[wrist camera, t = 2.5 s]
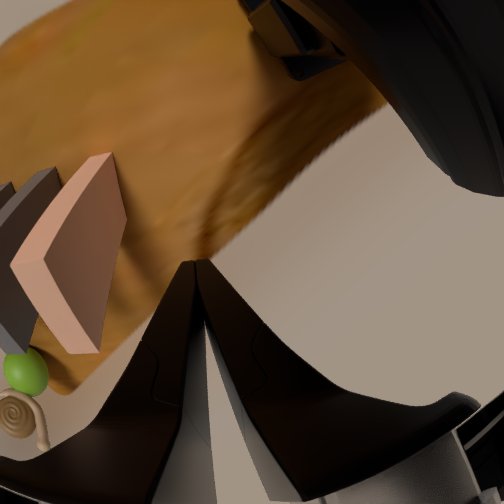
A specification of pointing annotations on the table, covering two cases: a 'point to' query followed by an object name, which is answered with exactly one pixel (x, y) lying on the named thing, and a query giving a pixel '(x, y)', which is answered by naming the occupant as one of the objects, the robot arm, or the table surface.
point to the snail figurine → (24, 397)
